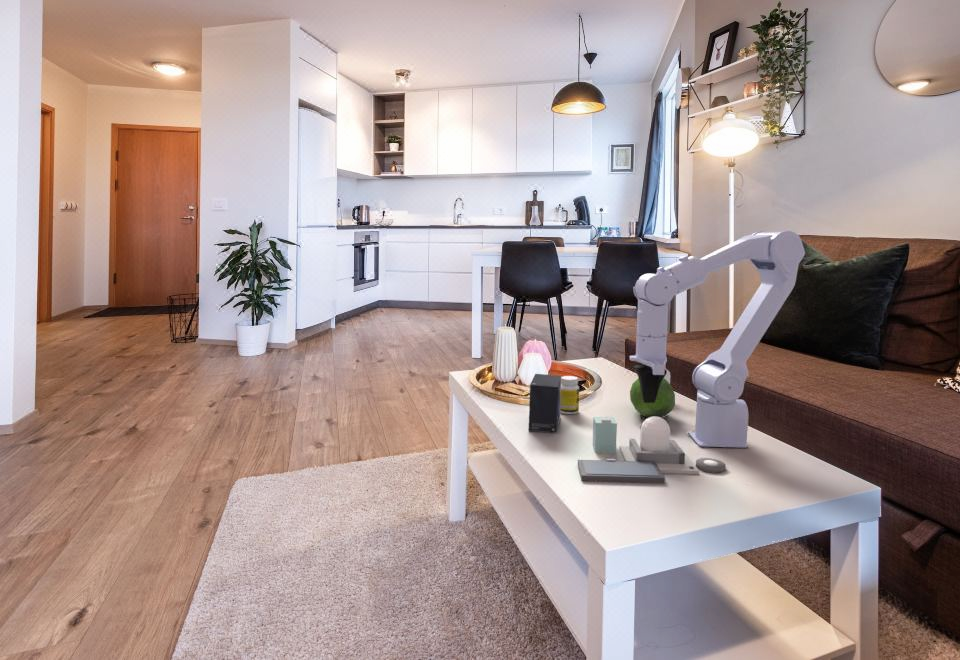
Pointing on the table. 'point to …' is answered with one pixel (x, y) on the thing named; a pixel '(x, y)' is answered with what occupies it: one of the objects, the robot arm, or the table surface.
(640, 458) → the grey piece
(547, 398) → the small box
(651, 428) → the capsule
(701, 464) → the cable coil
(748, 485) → the table surface
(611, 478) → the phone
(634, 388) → the fruit
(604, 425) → the plug block
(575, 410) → the supplement bottle
